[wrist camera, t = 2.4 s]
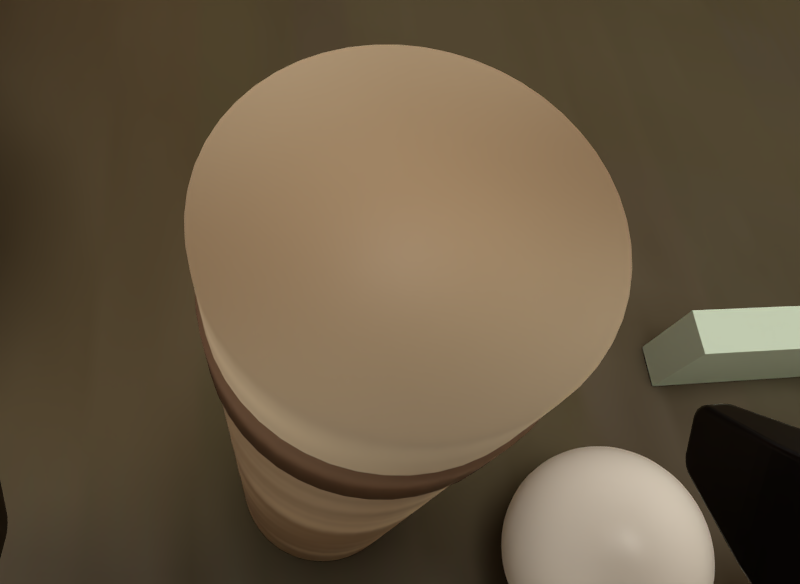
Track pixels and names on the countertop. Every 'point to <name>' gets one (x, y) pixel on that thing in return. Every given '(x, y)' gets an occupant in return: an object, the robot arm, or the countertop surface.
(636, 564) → the ball
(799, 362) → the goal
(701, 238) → the countertop surface
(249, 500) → the player peg
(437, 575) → the countertop surface
